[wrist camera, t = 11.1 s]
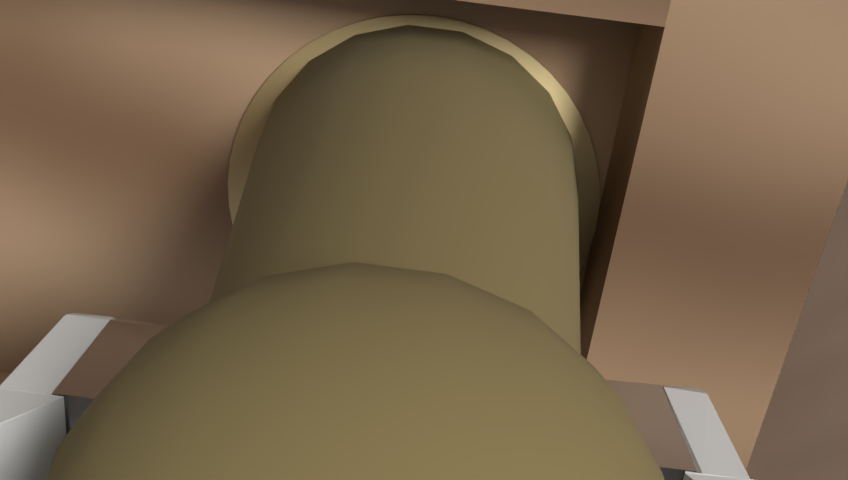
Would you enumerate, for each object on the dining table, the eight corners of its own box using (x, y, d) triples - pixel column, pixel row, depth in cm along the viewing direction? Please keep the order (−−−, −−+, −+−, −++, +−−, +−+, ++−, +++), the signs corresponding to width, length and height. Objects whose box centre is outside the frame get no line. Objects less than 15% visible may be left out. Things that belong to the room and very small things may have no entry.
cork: (199, 92, 15) (-381, 560, 4) (522, -28, 14) (707, 235, 3) (328, 364, 17) (135, 1087, 7) (614, 279, 16) (892, 982, 6)
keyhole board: (676, 503, 19) (705, 584, 17) (-437, 369, 19) (-556, 434, 16) (883, -154, 13) (968, -162, 11) (-709, -363, 13) (-944, -413, 11)
